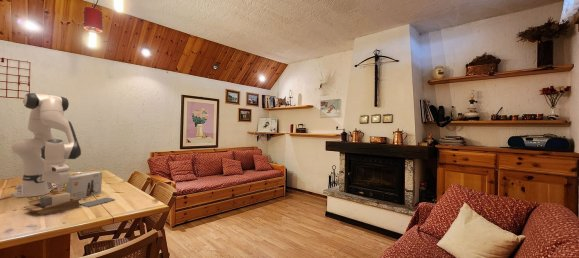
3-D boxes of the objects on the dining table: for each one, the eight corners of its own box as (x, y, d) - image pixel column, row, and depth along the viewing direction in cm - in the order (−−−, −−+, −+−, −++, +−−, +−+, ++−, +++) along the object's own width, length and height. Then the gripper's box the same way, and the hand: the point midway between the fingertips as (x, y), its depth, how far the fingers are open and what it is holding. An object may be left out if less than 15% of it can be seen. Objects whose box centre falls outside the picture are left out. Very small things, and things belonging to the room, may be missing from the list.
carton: (20, 212, 140) (21, 202, 140) (69, 200, 161) (69, 192, 161) (38, 218, 133) (39, 208, 133) (87, 205, 154) (87, 197, 154)
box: (40, 211, 142) (40, 197, 142) (65, 205, 154) (65, 192, 153) (45, 212, 140) (45, 198, 140) (70, 206, 152) (70, 193, 151)
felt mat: (79, 204, 155) (79, 204, 155) (106, 198, 169) (106, 197, 169) (88, 207, 151) (88, 206, 151) (115, 200, 166) (115, 199, 166)
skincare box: (71, 201, 160) (71, 177, 159) (64, 201, 161) (65, 176, 160) (102, 193, 180) (102, 171, 180) (95, 192, 181) (96, 171, 181)
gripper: (38, 166, 146) (38, 189, 147) (58, 169, 139) (58, 193, 139) (51, 164, 152) (51, 187, 153) (71, 167, 145) (71, 190, 145)
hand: (55, 190), depth 146 cm, fingers open, 8 cm apart
